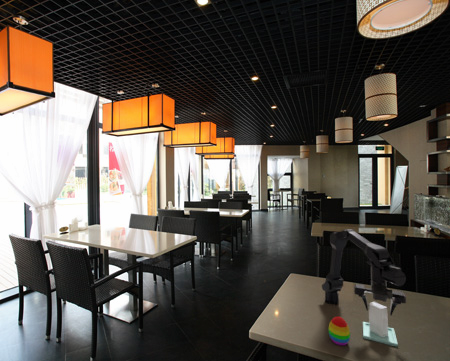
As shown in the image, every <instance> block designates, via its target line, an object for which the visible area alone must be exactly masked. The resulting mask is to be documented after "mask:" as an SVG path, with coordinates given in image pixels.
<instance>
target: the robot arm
mask: <svg viewBox="0 0 450 361" xmlns="http://www.w3.org/2000/svg"><path fill="white" fill-rule="evenodd" d="M348 241H350V242H351V243H353V244H354V245H356V246H357V247H358V248H360V249H361V250H363V252H364V254H365V256H366V257H367V258H368V259H369V260H368V261H366V263H367V264H368V265H370V279H371V280H370V288H367V287H365V285H364V284H359V283H355V284H354V295H357V296H358V297H360V298H361V299H362V301H363V303H364V308H365V310H366V311H367V312H369V306H368V299H367V294H371V295H372V299H373V300H374V301H382V302H384V303H386V302H387V301H388V300H390V307H389V315H390V317H391V316H393V313H394V311H395V309H396V308H397V306H398V305H402V304H407V297H406V295H405V292H404V291H402V290H401V291H400V290H393V289H389V288H387V282H389V283H391V284H393V285H395V286H398V287H403V286H404V284H405V283H406V281H407V277H406V274H405V273H404V271H402V268H401V267H398V266H396V263H395V262H394V260H393V258H392V256H391V255H390V253H389V251H388V249H387V248H385V247H384V246H381V245H378V244H376V243H372V242H371V241H369V240H368V239H366V238H365V237H364V236H361V235H360V234H359V233H357V232H356V231H355V230H354V229H343V230H341V231H337V232H331V233H330V234H329V243H330V245H331V248H332V250H331V260H330V268H329V269H330V270H329V273H328V274H327V275H326V277H325V281H324V283H322V285H321V288H322V291H324V303H326V304H332V305H335V306H337V305H338V304H339V303H340V293H339V292H341V291H342V289H343V287H344V281H345V280H344V279H343V278H342V276H341V267H342V257H343V250H344V248H345V247H346V246H347V243H348Z"/></svg>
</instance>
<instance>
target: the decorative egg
mask: <svg viewBox="0 0 450 361" xmlns="http://www.w3.org/2000/svg"><path fill="white" fill-rule="evenodd" d="M328 335H329V337H330V339H331V341H332V342H333V343H334V344H336V345H338V346H346V345H347V344H348V343H349V342H350V339H351V331H350V326H349V325H348V323H347V322H346V320H345V319H344V318H343V317H341V316H334V317H333V318H332V319H331V320H330V321H329V325H328Z"/></svg>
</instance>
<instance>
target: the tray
mask: <svg viewBox="0 0 450 361" xmlns="http://www.w3.org/2000/svg"><path fill="white" fill-rule="evenodd" d="M362 331H363V332H362V333H363V334H362V335H363V339H365V340H370V341H373V342H377V343H381V344H385V345H387V346H393V347H396V348H399V344H398V340H397V336H396V332H395V328H393V327H389V326H388V336H386V337H383V338H382V337H381V336H379V335H377V334H375V333H373V332H371V331H370V330H369V322H368V321H362Z"/></svg>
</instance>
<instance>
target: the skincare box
mask: <svg viewBox="0 0 450 361" xmlns="http://www.w3.org/2000/svg"><path fill="white" fill-rule="evenodd" d="M367 305H368V323H369V330H370V331H371V332H373V333H375V334H377V335H379V336H381V337H382V338H383V337H386V336H388V327H389V323H388V322H389V320H388V319H389V316H388V307H387V306H385V305H382V304H380V303H378V302H377V301H372V302H370V303H367Z"/></svg>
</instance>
